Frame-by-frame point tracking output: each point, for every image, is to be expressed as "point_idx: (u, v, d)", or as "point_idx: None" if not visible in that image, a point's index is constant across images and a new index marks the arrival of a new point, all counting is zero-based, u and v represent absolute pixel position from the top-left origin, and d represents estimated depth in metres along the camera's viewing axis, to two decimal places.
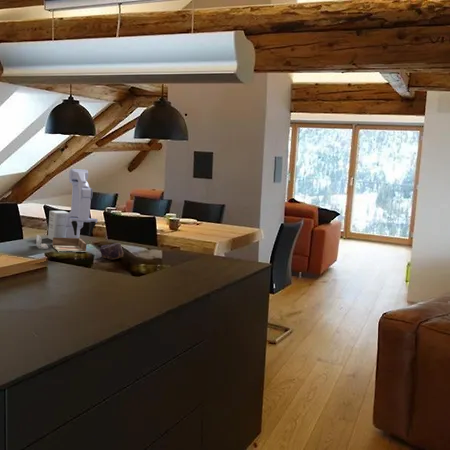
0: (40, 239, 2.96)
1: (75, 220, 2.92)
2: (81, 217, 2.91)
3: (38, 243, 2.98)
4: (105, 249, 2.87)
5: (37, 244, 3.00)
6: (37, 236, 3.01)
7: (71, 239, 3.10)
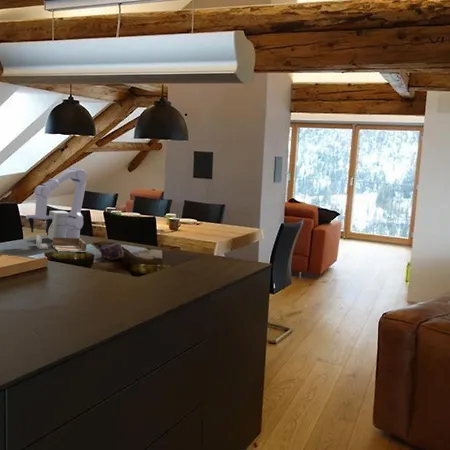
0: (40, 239, 2.96)
1: (32, 217, 2.96)
2: (37, 214, 2.95)
3: (38, 243, 2.98)
4: (105, 249, 2.87)
5: (37, 244, 3.00)
6: (37, 236, 3.01)
7: (71, 239, 3.10)
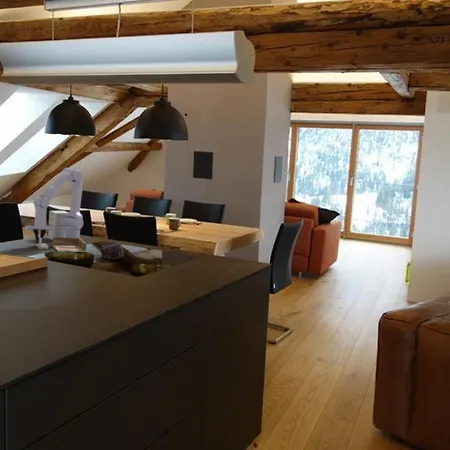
0: (40, 239, 2.96)
1: (31, 228, 2.97)
2: (37, 225, 2.96)
3: (38, 243, 2.97)
4: (105, 249, 2.87)
5: (37, 244, 3.00)
6: None
7: (71, 239, 3.10)
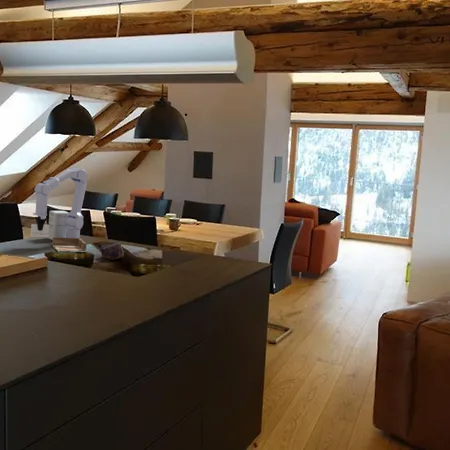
0: (31, 225, 2.97)
1: None
2: None
3: None
4: (105, 249, 2.87)
5: None
6: None
7: (71, 239, 3.10)
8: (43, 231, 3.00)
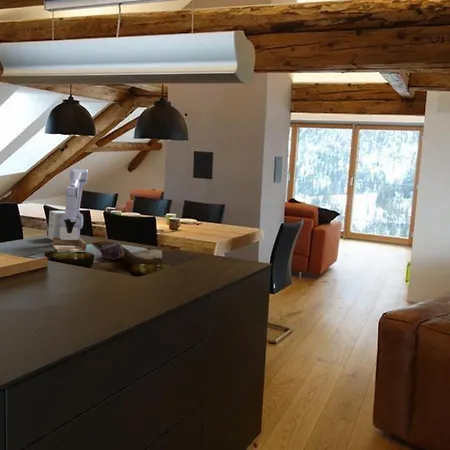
0: (60, 228, 3.00)
1: None
2: None
3: None
4: (105, 249, 2.87)
5: None
6: None
7: None
8: (72, 234, 3.03)
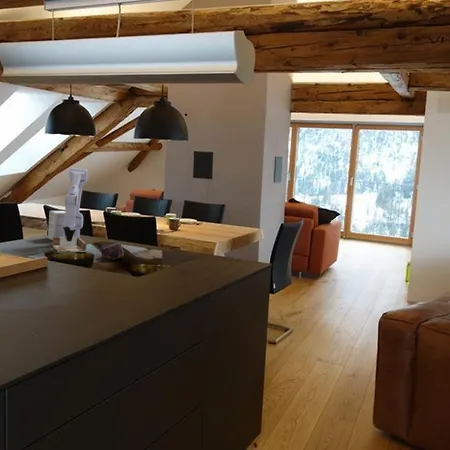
0: (60, 237, 3.00)
1: None
2: None
3: None
4: (105, 249, 2.87)
5: None
6: (72, 237, 3.04)
7: None
8: (71, 243, 3.03)
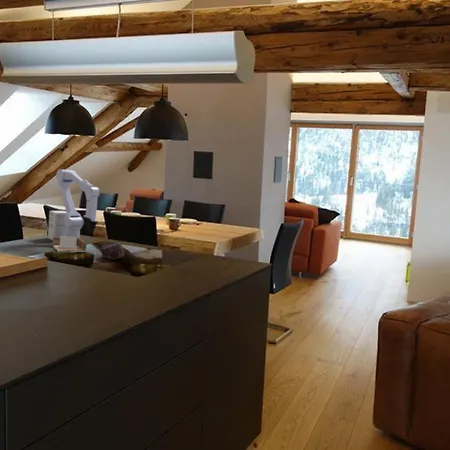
0: (60, 237, 3.00)
1: None
2: None
3: None
4: (105, 249, 2.87)
5: None
6: None
7: None
8: (71, 243, 3.03)
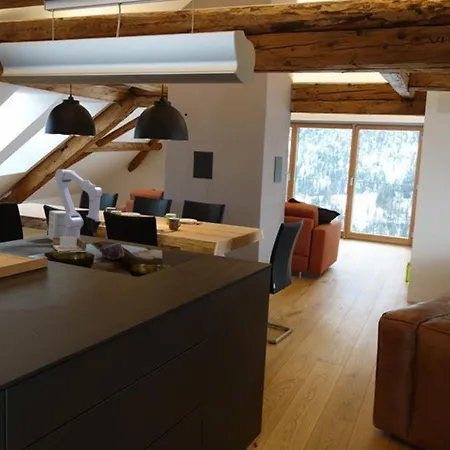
0: (60, 237, 3.00)
1: None
2: None
3: None
4: (105, 249, 2.87)
5: None
6: None
7: None
8: (71, 243, 3.03)
